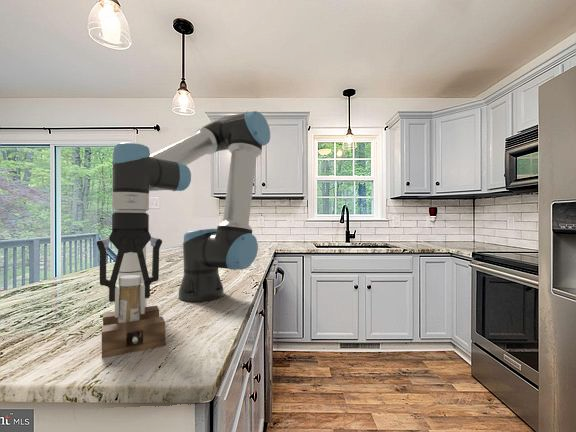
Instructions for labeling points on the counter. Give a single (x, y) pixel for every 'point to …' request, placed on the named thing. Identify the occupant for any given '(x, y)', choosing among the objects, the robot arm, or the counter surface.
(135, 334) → the plunger
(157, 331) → the socket
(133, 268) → the cylindrical container
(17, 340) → the counter surface
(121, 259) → the robot arm
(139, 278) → the sprinkles bottle
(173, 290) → the counter surface
